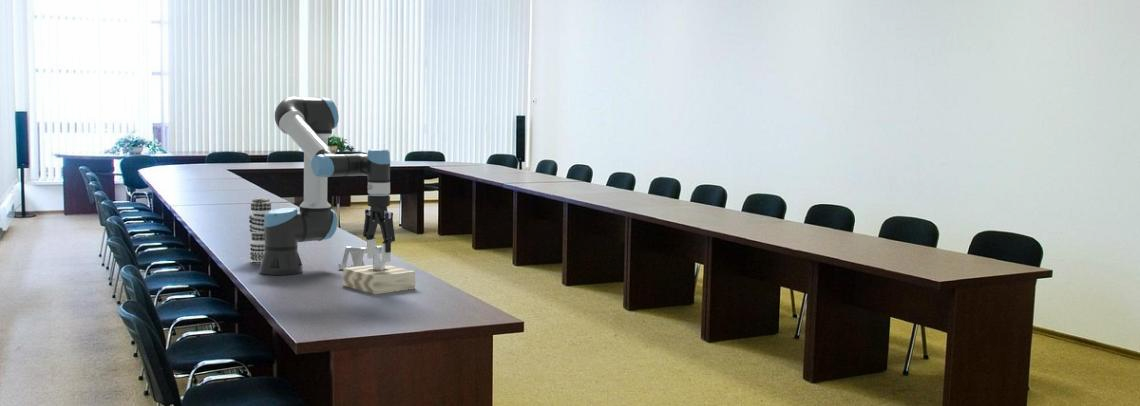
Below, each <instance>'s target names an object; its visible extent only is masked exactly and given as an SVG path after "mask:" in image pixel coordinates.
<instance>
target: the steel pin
mask: <svg viewBox="0 0 1140 406" xmlns="http://www.w3.org/2000/svg"><path fill="white" fill-rule="evenodd" d="M385 264H386V262H383V245H375V246H373V258H372V265H373V271H375V272H379V271H385Z"/></svg>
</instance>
